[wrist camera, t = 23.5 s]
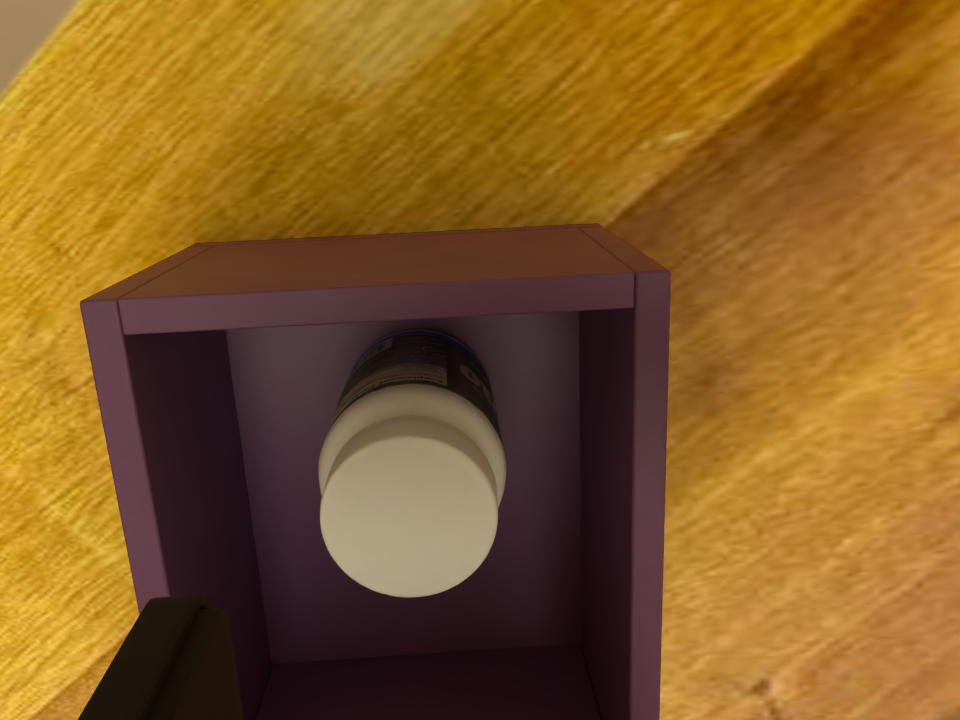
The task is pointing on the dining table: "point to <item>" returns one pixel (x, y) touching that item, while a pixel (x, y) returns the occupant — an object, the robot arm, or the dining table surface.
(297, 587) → the box
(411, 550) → the pill bottle
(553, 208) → the dining table surface
